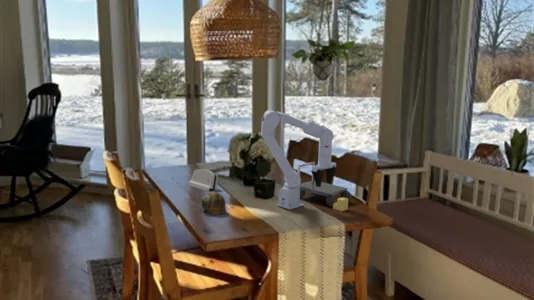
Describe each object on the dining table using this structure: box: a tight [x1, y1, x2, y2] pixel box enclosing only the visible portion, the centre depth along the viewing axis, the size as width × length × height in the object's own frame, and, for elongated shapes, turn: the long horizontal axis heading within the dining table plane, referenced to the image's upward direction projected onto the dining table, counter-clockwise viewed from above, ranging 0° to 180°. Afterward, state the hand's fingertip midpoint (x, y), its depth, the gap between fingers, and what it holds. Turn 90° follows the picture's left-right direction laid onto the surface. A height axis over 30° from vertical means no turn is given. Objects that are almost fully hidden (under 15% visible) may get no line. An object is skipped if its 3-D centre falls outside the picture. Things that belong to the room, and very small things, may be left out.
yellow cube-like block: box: [332, 197, 349, 212], centre depth 219 cm, size 4×5×5 cm
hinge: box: [187, 168, 219, 192], centre depth 250 cm, size 17×5×10 cm, turn 47°
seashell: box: [201, 191, 227, 216], centre depth 212 cm, size 11×9×8 cm
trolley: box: [296, 161, 352, 208], centre depth 232 cm, size 14×24×16 cm, turn 45°
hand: (323, 184), depth 222 cm, fingers open, 7 cm apart
